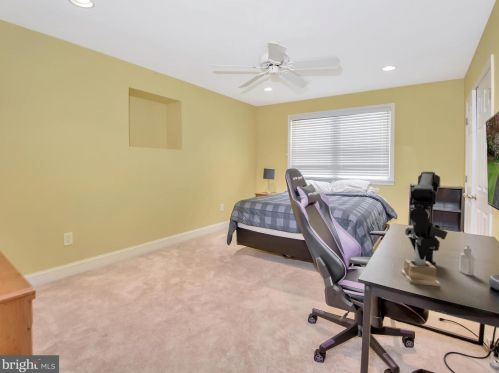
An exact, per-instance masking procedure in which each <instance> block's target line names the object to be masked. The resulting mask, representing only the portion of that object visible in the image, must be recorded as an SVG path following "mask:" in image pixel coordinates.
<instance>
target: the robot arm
mask: <svg viewBox="0 0 499 373" xmlns="http://www.w3.org/2000/svg"><path fill="white" fill-rule="evenodd" d="M439 188H441V176H439V175H438V174H436V172H435V171H422V172H421V173H420V175H418V177H417V184H416V185H415V186H413V189H411V192H410V199H409V205H410V206H413V209H412V210H411V211H410V213H409V217H410V220H411V224H412V227H407V228H405V231H404V233H405V235H406V236H409V237H408V239H409V241H410V244H411V246H412V248H413V250H414V252H415V246H416V248H417V251H418V254H419V257H420V259H421V260H424V258H425V261H428V262H429V263H431V264H432V265H437V262H435V261H434V252H438V251H439V249H440V246H441V242H440V240H438V238H439V239H441V240H446V237H447V235H448V233H449V232H448V231H446V230H443V229H441V228H440V225H438V224H435V223H433V220H434V219H433V217H434V216H433V214H434V205H436V204H437V195H438V194H437V193H438V191H439ZM416 240H417V242H416Z"/></svg>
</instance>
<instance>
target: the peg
mask: <svg viewBox="0 0 499 373" xmlns="http://www.w3.org/2000/svg"><path fill="white" fill-rule="evenodd" d="M416 242H417V240H416ZM414 260H415V265H416V266H425V258H424V260H421V259H420V257H419V254H418V251H417V248H416V246H415V251H414Z"/></svg>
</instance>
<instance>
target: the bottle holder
mask: <svg viewBox="0 0 499 373" xmlns="http://www.w3.org/2000/svg"><path fill="white" fill-rule="evenodd" d="M403 264H404V267H403V268H404V269H402V268H401V269H400V272H401V274H402V275H403V276H404V277H405V279H406V280H407V281H408V282H409V284H411V285H413V284H414V285H424V286H425V285H426V286H436V287H440V286H441V283H440V282H439V281H438V280H437V267H435V266H434V264H431V263H429V262H428V261H425V266H416V265H415V259H404V263H403Z"/></svg>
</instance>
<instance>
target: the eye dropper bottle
mask: <svg viewBox="0 0 499 373" xmlns="http://www.w3.org/2000/svg"><path fill="white" fill-rule="evenodd" d="M475 260H476V259H475V257H474V255H473V254H472V248H471V247H470V245H469V244H467V245H466V247H464V248H463V252H461V253H460V254H459V264H458V265H459V267H458V269H459V270H458V271H459V272H460V273H461V274H463V275H465V276H474V275H475Z"/></svg>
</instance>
